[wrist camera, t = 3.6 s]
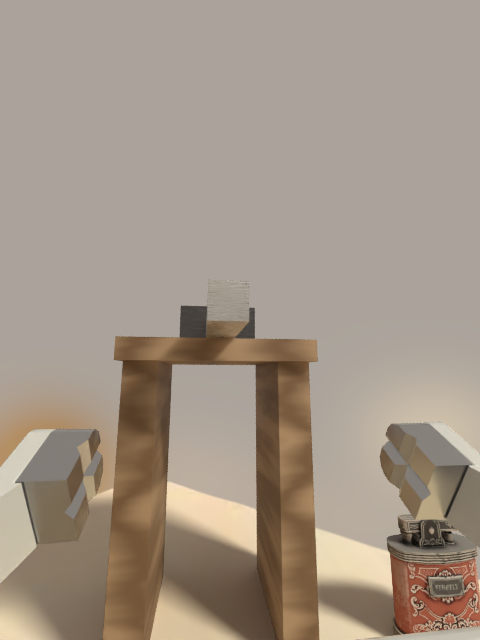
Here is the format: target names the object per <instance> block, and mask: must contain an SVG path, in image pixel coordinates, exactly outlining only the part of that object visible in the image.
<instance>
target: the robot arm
mask: <svg viewBox="0 0 480 640" xmlns="http://www.w3.org/2000/svg"><path fill="white" fill-rule="evenodd" d="M386 437H387V439H388V440H389V441H388V442H387V443H386V444H385V445H384V446H383V447H382V450H381V454H380V461H381V467H382V469H383V472H384V474H385V476H386V477H387V479H388V480H389V482H390V483H392V484H393V485H395V486H396V487H397V488H399V489H400V491H399V497H400V498H401V500H402V501H403V503H404V504H405V506H406V507H407V508H408V510H409V511H410V513H411V514H412V516H413V517H414V519H415V520H429V519H446V522H448V523H449V524H450V525H451V526H453V527H454V528H455V529H456V530H458V531H459V532H460V533H462V534H463V535H464V536H465V537H466V538H468V539H469V540H470V541H471V542H473V543H474V544H475V545H476V546H478V547H479V548H480V454H479V453H478V452H477V451H476V450H475V449H474V448H473V447H472V446H470V445H469V444H468V443H467V442H466V441H465V440H463V439H462V438H461V437H460V436H459V435H458V434H457V433H456V432H454V431H453V430H452V429H451V428H450V427H449V426H448V425H446V424H444V423H442V422H425V423H403V424H391V425H390V426H389V427H388V429H387V432H386ZM99 444H100V436H99V431H97V430H96V429H56V430H54V429H47V430H46V429H37V430H36V429H35V430H33V431H31V432H29V433H28V434H27V435H26V437H25V438H24V439H23V440H22V442H21V443H20V444H19V445H18V446H17V448H16V449H15V450H14V451H13V452H12V454H11V455H10V456H9V457H8V458H7V460H6V461H5V462H4V463H3V465H2V466H1V467H0V583H1V582H2V581H3V580H4V579H5V578H6V577H7V576H8V575H9V574H10V573H11V572H12V571H13V570H14V569H15V568H16V567H17V566H18V565H19V564H20V563H21V562H22V561H23V560H24V559H25V558H26V557H27V556H28V555H29V554H30V553H31V552H32V551H33V550H34V549H35V548H36V547H37V544H45V543H56V542H67V541H78V539H79V536H80V534H81V531H82V529H83V526H84V524H85V521H86V519H87V516H88V514H89V508H88V502H89V501H90V500H91V499H92V498H93V497H94V496H95V495H96V494H97V491H98V488H99V486H100V481H101V477H102V472H103V458H102V455H101V454H100V453H99V452H98V451H97V448H98V446H99ZM357 640H480V626H475V627H466V628H457V629H448V630H439V631H429V632H420V633H411V634H402V635H393V636H384V637H375V638H366V639H357Z"/></svg>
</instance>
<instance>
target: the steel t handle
mask: <svg viewBox="0 0 480 640" xmlns="http://www.w3.org/2000/svg"><path fill="white" fill-rule="evenodd" d="M254 309H255V308H249V281H225V280H208V298H207V306H181V317H180V338H239V339H255V310H254Z"/></svg>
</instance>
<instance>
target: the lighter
mask: <svg viewBox="0 0 480 640" xmlns="http://www.w3.org/2000/svg"><path fill="white" fill-rule="evenodd" d="M398 525H399V528H400V532H401V534H399V535H393V536H389V537H388V538H387V547H388V551H389V552H390V559H391V572H392V585H393V597H394V610H395V617H394V619H393V625H394V635H402V634H411V633H420V632H429V631H439V630H448V629H457V628H466V627H475V626H480V592H479V584H478V576H477V568H476V560H475V558H476V557H477V548H476V545H475V544H474V543H473V542H471V541H470V540H469V539H468V538H466V537H463V536H460V535H457V534H452V532H451V531H457V530H456V529H455V528H454V527H453V526H451V525H450V524H449V523H448V522H446V519H429V520H415V519H414V517H413V516H412V514H406V515H398ZM440 531H441V532H440Z"/></svg>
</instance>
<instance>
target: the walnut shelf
mask: <svg viewBox="0 0 480 640" xmlns="http://www.w3.org/2000/svg"><path fill="white" fill-rule="evenodd" d="M114 360H118V361H123V369H122V382H121V395H120V396H121V397H120V409H119V423H118V437H117V450H116V464H115V478H114V491H113V505H112V519H111V533H110V546H109V560H108V574H107V588H106V601H105V615H104V629H103V640H150V637H151V632H152V627H153V622H154V617H155V612H156V607H157V602H158V597H159V592H160V587H161V582H162V577H163V564H164V541H165V518H166V495H167V472H168V471H167V470H168V448H169V425H170V401H171V379H172V378H171V377H172V364H189V365H199V364H200V365H256V470H257V471H256V474H257V475H256V479H257V480H256V482H257V569H258V573H259V576H260V580H261V584H262V587H263V591H264V595H265V598H266V602H267V606H268V609H269V613H270V617H271V620H272V624H273V628H274V631H275V635H276V639H277V640H319V618H318V592H317V566H316V540H315V514H314V489H313V464H312V436H311V411H310V384H309V362H316V361H318V358H317V340H300V339H239V338H178V337H175V338H174V337H118V336H116V338H115V351H114Z"/></svg>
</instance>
